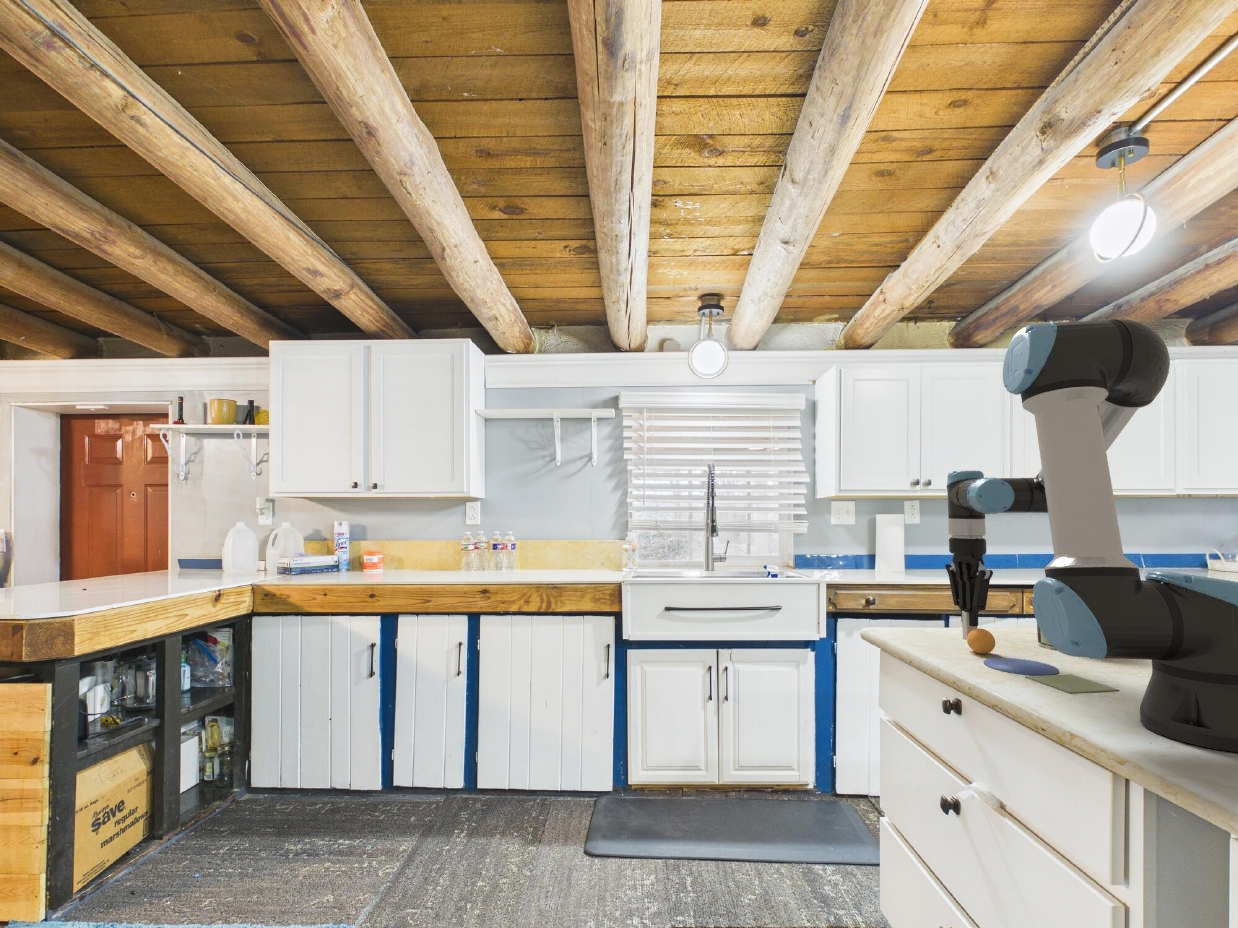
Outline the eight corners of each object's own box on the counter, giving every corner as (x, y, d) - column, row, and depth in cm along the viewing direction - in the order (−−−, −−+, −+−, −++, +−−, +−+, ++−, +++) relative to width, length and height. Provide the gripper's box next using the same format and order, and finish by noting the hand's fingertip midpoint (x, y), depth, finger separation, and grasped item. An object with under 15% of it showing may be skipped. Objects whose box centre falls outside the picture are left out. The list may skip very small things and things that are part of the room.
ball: (989, 661, 137) (1002, 649, 133) (964, 654, 137) (976, 641, 134) (985, 640, 141) (998, 627, 137) (961, 633, 141) (972, 620, 138)
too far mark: (1119, 690, 110) (1119, 689, 110) (1070, 693, 108) (1070, 692, 108) (1071, 675, 120) (1071, 674, 120) (1025, 677, 118) (1025, 676, 118)
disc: (1072, 677, 118) (1072, 676, 118) (997, 673, 121) (997, 672, 121) (1041, 660, 131) (1041, 659, 131) (974, 657, 134) (974, 656, 134)
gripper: (1002, 538, 136) (1006, 645, 135) (962, 534, 148) (965, 632, 147) (972, 539, 135) (975, 647, 134) (934, 535, 147) (937, 633, 146)
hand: (970, 639), depth 140 cm, fingers closed
